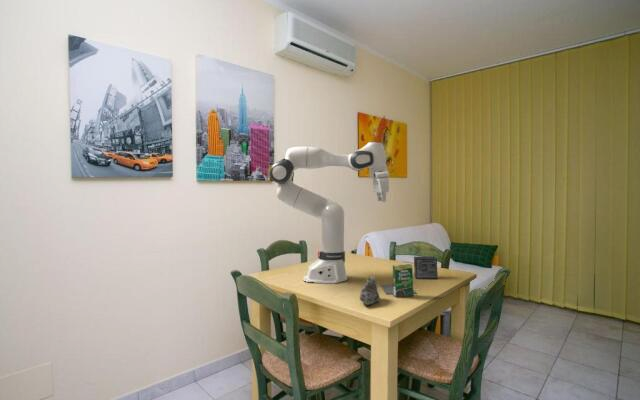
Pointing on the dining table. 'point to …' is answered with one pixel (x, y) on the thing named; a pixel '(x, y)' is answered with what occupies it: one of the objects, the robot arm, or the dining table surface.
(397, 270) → the coffee box
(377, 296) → the mineral rock
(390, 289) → the mat
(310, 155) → the robot arm
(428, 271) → the small box
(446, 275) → the dining table surface
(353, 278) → the dining table surface
